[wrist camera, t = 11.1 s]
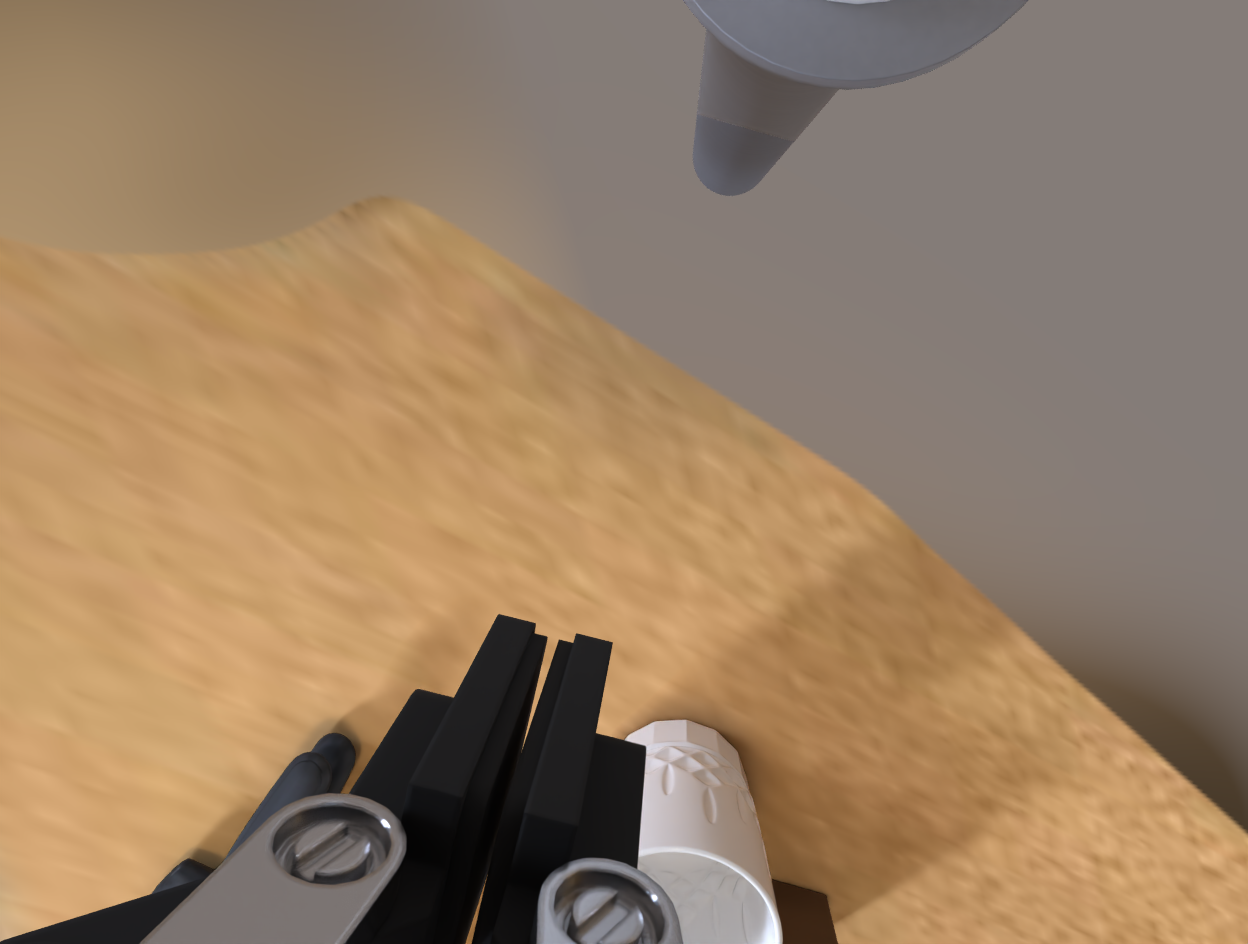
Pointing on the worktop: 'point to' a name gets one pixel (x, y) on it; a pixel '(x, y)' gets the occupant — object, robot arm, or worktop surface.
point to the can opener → (285, 796)
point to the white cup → (704, 836)
